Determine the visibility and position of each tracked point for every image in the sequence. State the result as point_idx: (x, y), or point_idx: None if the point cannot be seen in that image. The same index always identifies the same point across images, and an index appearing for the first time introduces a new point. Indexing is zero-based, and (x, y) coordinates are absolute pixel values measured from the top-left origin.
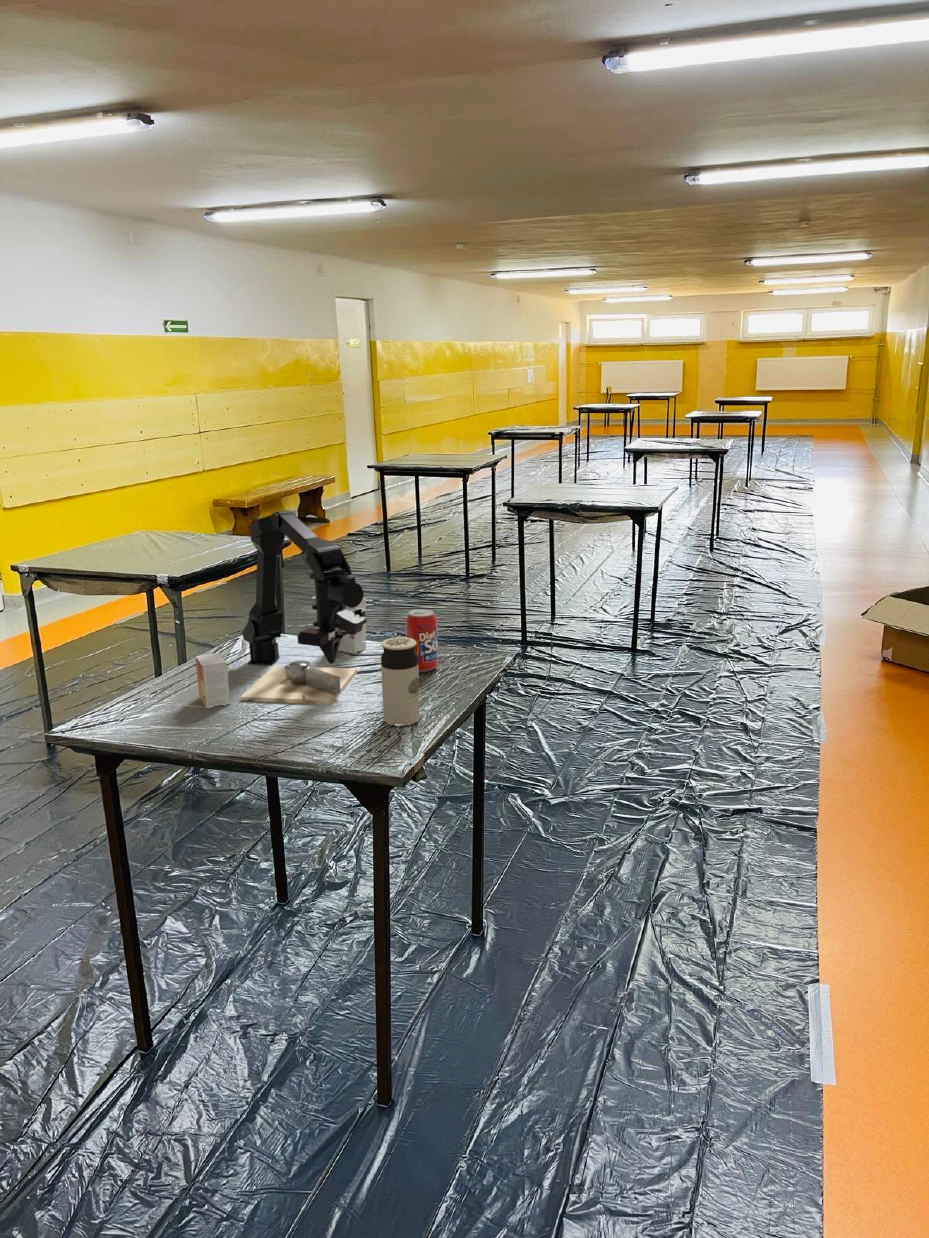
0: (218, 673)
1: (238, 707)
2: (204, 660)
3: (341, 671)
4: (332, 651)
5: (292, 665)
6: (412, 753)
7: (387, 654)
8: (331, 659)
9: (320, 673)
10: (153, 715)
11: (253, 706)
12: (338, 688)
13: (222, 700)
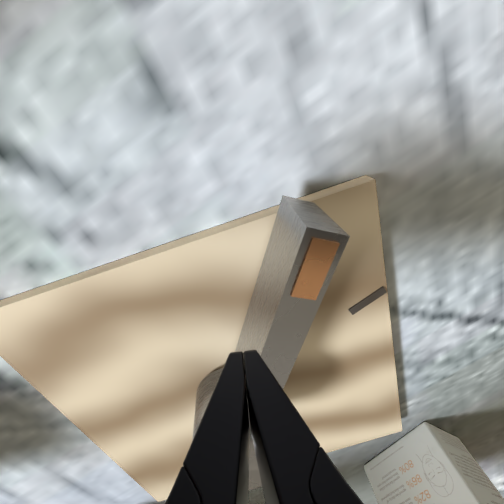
0: None
1: (440, 397)
2: None
3: (46, 349)
4: (322, 455)
5: None
6: None
7: None
8: (273, 382)
9: (296, 346)
10: (499, 472)
11: (428, 377)
12: (300, 205)
13: (446, 440)
